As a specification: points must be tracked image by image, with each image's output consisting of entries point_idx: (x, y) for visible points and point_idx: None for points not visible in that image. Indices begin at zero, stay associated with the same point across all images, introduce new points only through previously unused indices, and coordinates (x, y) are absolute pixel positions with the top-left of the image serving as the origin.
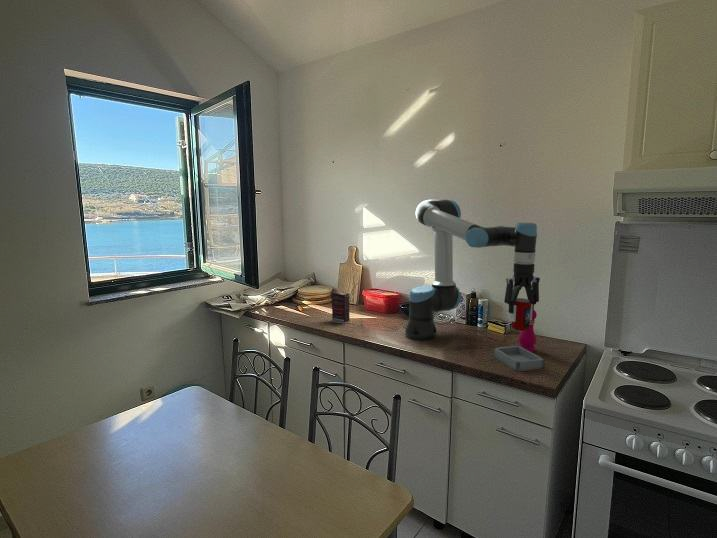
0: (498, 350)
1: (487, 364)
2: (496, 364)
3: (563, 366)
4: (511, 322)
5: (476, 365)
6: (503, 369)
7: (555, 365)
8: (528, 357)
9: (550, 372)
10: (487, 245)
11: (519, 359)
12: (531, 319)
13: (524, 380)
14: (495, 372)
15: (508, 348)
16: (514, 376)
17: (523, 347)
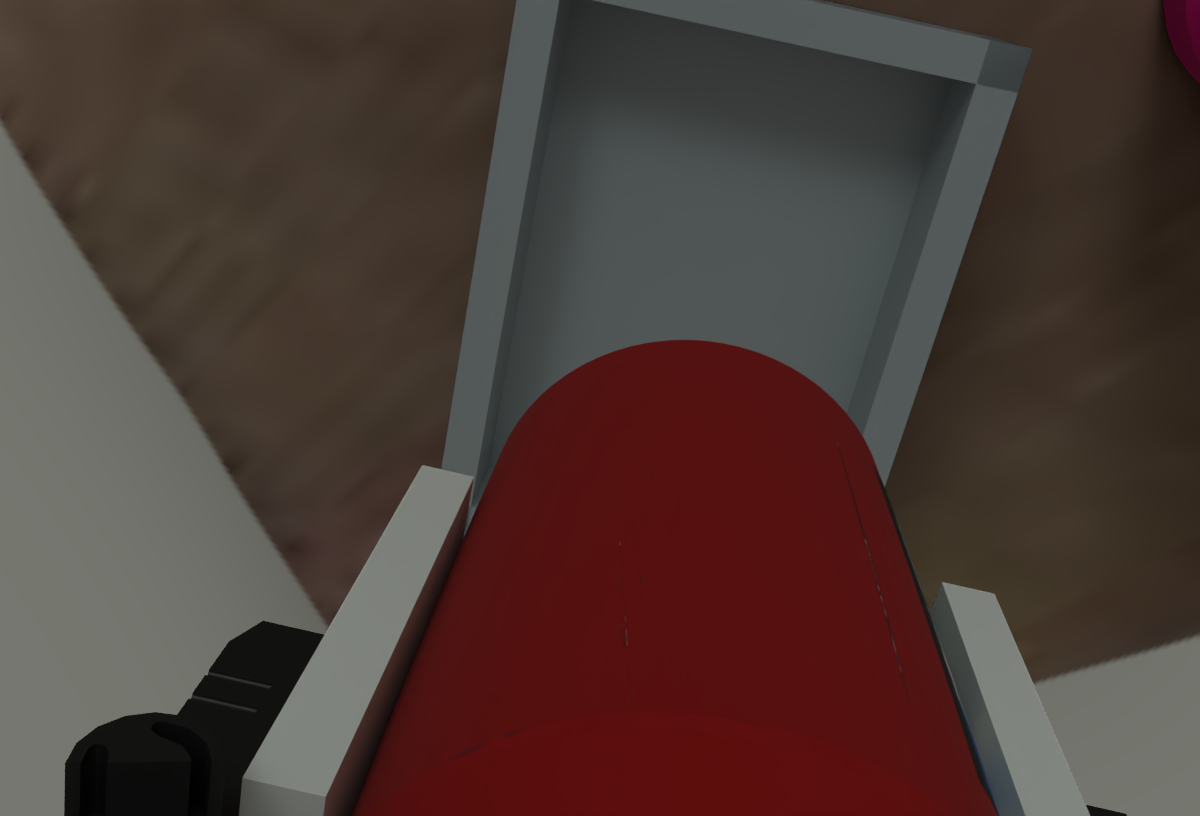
0: (525, 66)
1: (261, 146)
2: (374, 205)
3: (1083, 636)
4: (537, 421)
5: (101, 101)
6: (347, 360)
7: (1030, 576)
8: (876, 333)
9: None
10: None
11: (739, 285)
12: None
13: None
14: (199, 376)
15: (789, 41)
16: (328, 545)
17: (1191, 13)
